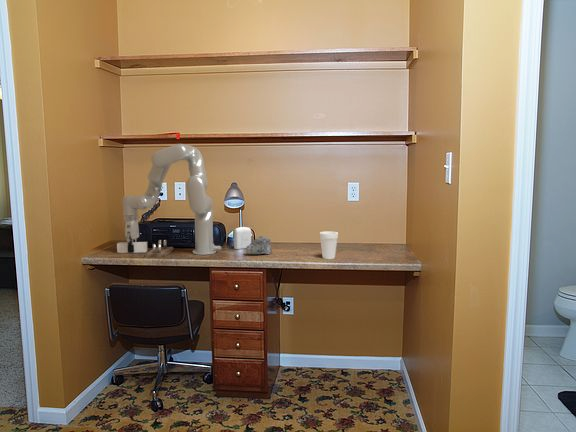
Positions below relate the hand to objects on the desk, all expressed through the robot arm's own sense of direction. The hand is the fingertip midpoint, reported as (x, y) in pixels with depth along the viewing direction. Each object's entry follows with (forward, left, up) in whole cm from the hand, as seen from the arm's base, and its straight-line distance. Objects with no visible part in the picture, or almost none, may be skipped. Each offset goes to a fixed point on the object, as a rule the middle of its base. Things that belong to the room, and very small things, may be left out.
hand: (132, 250), depth 246 cm
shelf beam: (0, 0, -1) cm, 1 cm away
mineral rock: (-70, +8, -1) cm, 70 cm away
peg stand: (-16, +4, -1) cm, 17 cm away
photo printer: (-60, -8, -1) cm, 61 cm away
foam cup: (-106, +19, -1) cm, 108 cm away
